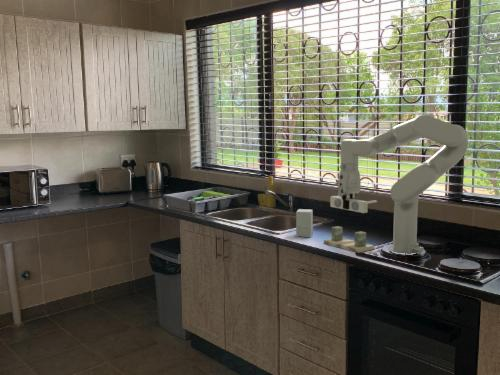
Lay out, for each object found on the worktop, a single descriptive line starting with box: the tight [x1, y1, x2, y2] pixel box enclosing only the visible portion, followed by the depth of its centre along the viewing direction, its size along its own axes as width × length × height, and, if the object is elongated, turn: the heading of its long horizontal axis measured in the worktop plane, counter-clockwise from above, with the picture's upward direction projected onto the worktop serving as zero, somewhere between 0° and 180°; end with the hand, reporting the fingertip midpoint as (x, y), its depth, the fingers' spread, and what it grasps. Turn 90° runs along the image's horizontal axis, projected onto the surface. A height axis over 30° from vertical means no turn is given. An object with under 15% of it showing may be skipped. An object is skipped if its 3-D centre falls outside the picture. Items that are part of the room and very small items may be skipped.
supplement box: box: [295, 208, 314, 238], centre depth 246 cm, size 7×7×13 cm
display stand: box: [323, 225, 375, 254], centre depth 224 cm, size 21×10×8 cm, turn 36°
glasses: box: [329, 195, 378, 214], centre depth 224 cm, size 20×9×5 cm, turn 36°
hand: (348, 208), depth 223 cm, fingers closed on glasses, 2 cm apart
